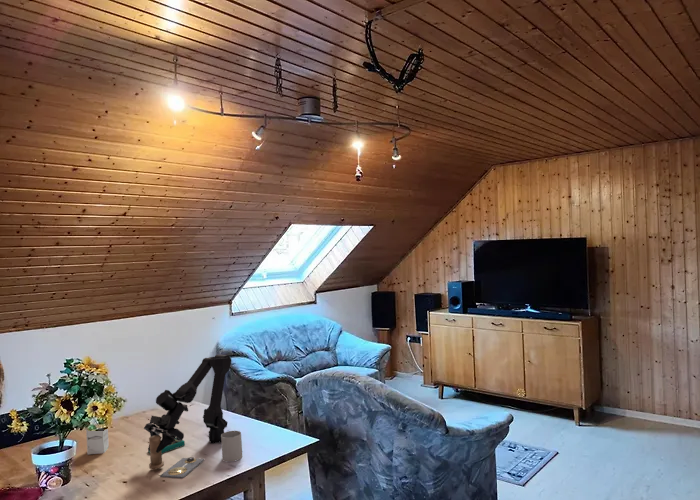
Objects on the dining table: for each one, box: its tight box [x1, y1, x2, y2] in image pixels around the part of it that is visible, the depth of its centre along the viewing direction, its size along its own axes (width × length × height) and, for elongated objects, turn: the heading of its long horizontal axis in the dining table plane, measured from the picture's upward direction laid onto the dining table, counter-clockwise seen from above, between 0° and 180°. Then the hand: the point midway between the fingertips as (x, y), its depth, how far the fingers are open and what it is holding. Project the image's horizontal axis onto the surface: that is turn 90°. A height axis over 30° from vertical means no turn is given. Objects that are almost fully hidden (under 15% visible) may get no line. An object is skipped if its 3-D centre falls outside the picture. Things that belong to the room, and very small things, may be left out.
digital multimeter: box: [147, 438, 186, 454], centre depth 239 cm, size 7×15×3 cm, turn 138°
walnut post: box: [148, 435, 165, 470], centre depth 217 cm, size 6×6×12 cm
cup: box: [220, 430, 243, 463], centre depth 225 cm, size 8×8×10 cm
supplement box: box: [85, 428, 110, 456], centre depth 240 cm, size 7×7×13 cm
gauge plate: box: [159, 456, 205, 479], centre depth 216 cm, size 17×10×2 cm, turn 167°
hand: (152, 451), depth 215 cm, fingers closed on walnut post, 4 cm apart
